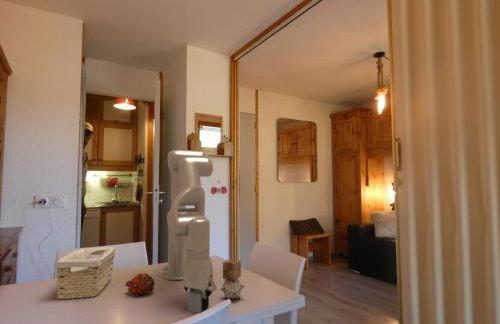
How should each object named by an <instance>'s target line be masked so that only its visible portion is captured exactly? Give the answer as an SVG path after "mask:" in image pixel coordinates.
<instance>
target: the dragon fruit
mask: <svg viewBox="0 0 500 324" xmlns="http://www.w3.org/2000/svg"><path fill="white" fill-rule="evenodd" d="M155 285H156V283H155V280H154V278H153V277H152V276H151V275H149V273H146V272H145V273H136V275H135V276H134V277H133V278H131V279H129V280H128V281H126V283H125V287H127V292H129V293H134V295H135V296H136V297H137V296H140V295H143V296H145V295H147V294H148V293H149V292H153V291H154V290H155V288H154V286H155Z"/></svg>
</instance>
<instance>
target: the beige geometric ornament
mask: <svg viewBox="0 0 500 324" xmlns="http://www.w3.org/2000/svg"><path fill="white" fill-rule="evenodd" d="M243 288H245V286H244V285H242V283H241V282H240V280H239V278H238V279H236V280H229V279H224V282H223V285H222V287H221V288H220V289H219V290H220V291H222V292H223V294H224V296H225V297H226V299H229V300H230V299H239V300H241V298H240V295H241V292H242V289H243Z"/></svg>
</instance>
